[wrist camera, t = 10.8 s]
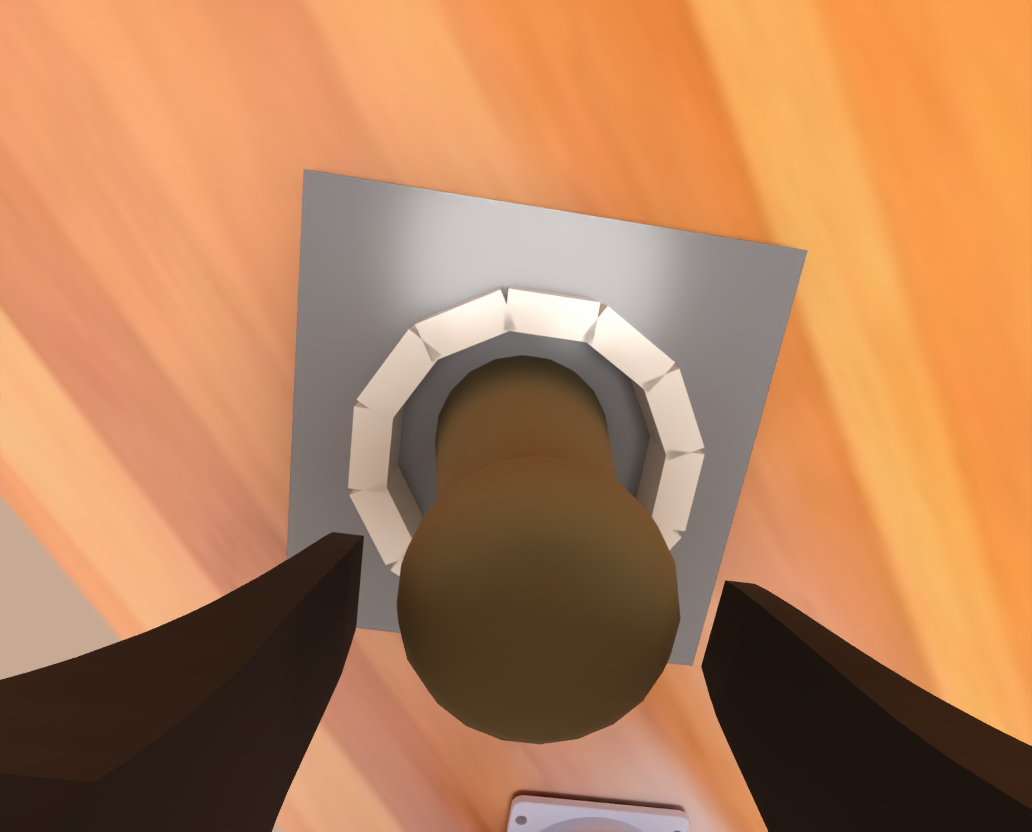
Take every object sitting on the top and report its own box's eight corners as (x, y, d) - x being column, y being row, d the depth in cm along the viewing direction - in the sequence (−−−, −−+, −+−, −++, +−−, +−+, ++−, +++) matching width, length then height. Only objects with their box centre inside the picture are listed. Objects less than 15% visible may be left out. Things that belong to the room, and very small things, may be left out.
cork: (574, 538, 20) (649, 837, 10) (415, 493, 20) (313, 759, 9) (634, 386, 19) (798, 546, 8) (463, 331, 18) (408, 428, 8)
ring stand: (685, 652, 23) (710, 704, 20) (291, 606, 22) (262, 655, 19) (794, 250, 19) (844, 249, 16) (312, 172, 18) (277, 157, 15)
